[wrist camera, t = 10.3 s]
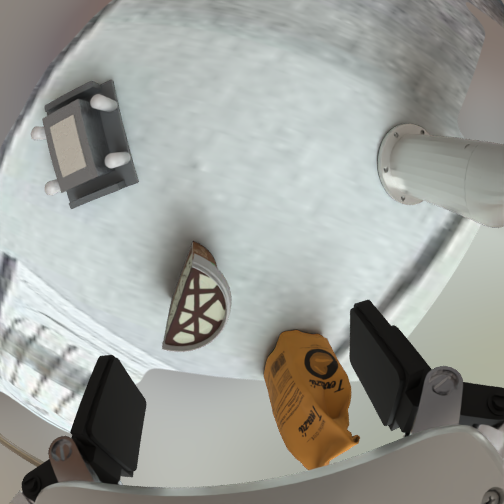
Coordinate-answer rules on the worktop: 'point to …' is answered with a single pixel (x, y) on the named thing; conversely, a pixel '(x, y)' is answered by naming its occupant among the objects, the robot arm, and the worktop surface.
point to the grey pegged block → (116, 139)
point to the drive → (76, 144)
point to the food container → (197, 303)
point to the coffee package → (309, 398)
